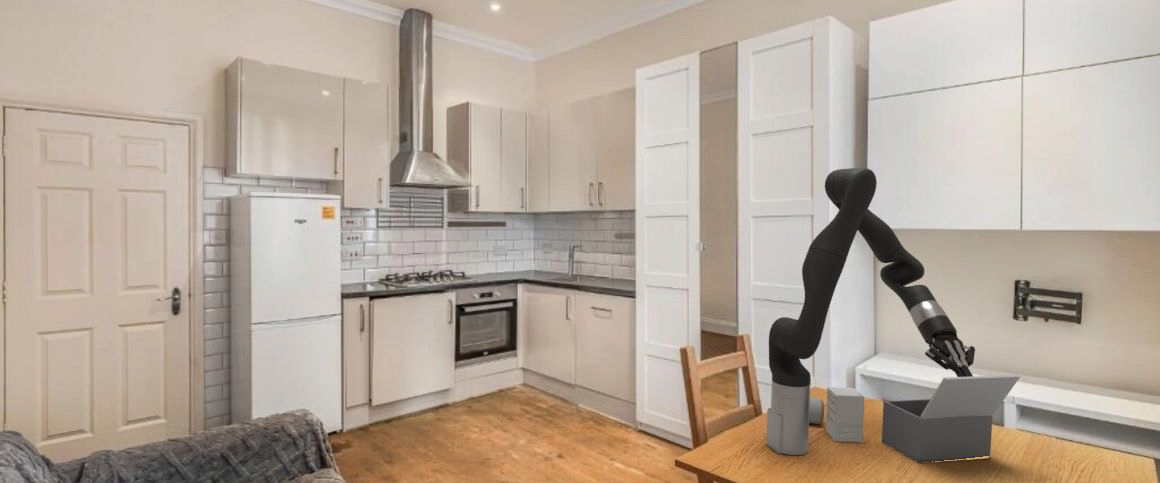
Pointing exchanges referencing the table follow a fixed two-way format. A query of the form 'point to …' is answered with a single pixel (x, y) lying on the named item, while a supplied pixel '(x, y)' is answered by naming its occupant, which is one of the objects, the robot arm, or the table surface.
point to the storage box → (934, 433)
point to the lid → (969, 395)
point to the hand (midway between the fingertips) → (969, 383)
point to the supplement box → (845, 414)
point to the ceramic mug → (816, 410)
